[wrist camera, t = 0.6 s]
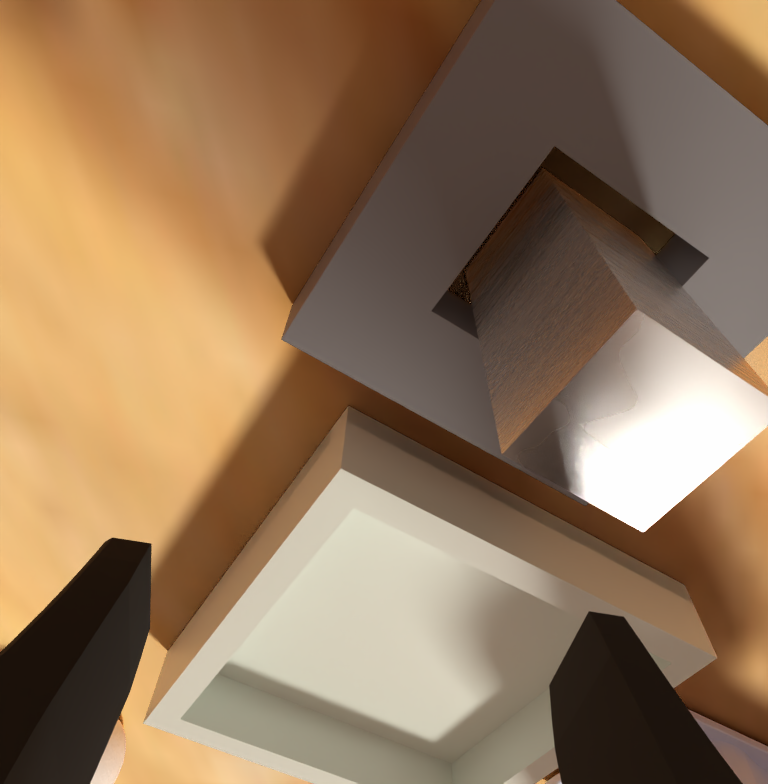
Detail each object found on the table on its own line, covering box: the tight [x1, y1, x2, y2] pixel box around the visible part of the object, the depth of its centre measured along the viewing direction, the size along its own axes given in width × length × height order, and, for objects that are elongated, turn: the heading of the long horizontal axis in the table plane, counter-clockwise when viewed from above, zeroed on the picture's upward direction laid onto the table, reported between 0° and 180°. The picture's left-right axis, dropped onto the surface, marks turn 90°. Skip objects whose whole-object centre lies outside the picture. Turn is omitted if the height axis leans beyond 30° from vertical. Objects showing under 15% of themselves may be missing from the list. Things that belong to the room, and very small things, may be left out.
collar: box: [281, 0, 768, 506], centre depth 17 cm, size 10×10×2 cm
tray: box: [143, 406, 717, 784], centre depth 24 cm, size 14×14×3 cm
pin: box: [465, 168, 768, 532], centre depth 15 cm, size 3×3×8 cm
